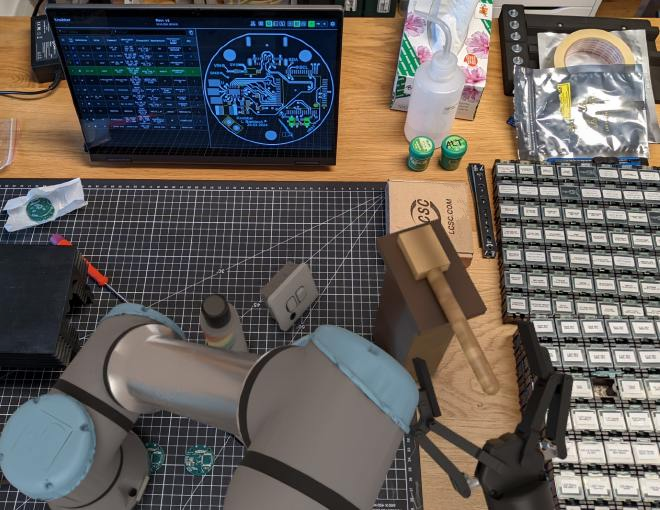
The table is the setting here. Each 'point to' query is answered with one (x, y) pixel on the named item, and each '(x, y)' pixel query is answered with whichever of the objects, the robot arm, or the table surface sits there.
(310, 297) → the electrical switch
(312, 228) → the table surface
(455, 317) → the wooden mallet
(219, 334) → the lotion bottle
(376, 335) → the stand
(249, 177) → the table surface
